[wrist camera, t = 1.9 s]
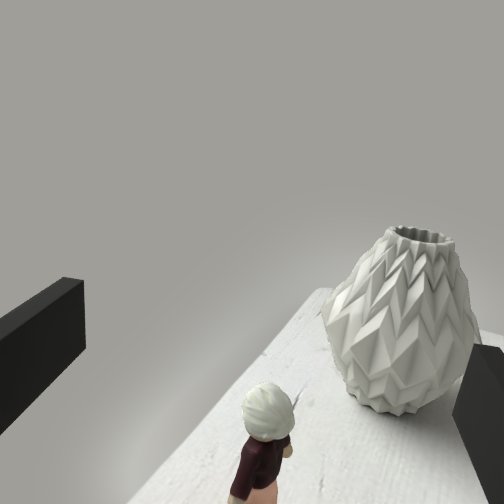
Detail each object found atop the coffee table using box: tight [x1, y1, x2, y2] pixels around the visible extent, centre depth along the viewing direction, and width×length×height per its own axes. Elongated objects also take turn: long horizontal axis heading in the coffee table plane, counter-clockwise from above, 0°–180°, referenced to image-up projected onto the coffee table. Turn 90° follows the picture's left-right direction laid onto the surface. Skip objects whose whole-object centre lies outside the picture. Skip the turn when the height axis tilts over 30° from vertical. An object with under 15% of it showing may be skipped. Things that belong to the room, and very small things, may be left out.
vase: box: [321, 225, 482, 417], centre depth 46 cm, size 16×16×18 cm
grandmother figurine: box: [228, 383, 295, 504], centre depth 29 cm, size 8×4×13 cm, turn 159°
